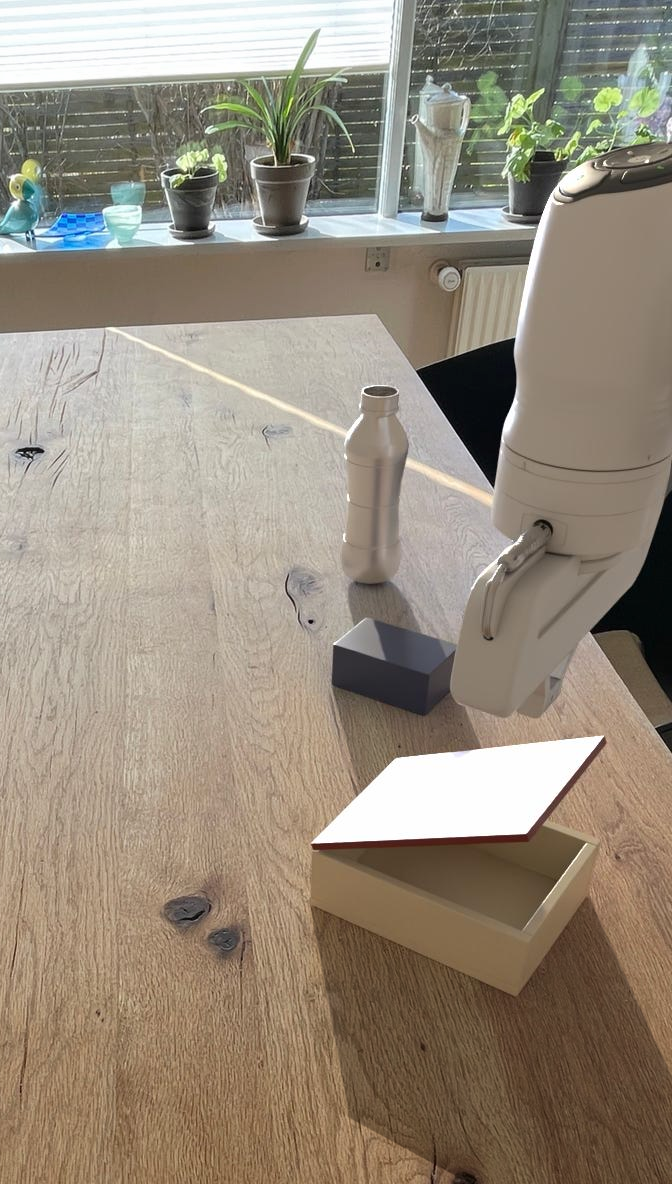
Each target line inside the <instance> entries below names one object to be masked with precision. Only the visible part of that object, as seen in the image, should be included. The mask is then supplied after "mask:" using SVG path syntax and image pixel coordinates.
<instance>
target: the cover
mask: <svg viewBox="0 0 672 1184" xmlns="http://www.w3.org/2000/svg"><path fill="white" fill-rule="evenodd" d="M607 744H608V742H607V738H606V736H605V735H600V736H591V737H580V738H572V739H571V738H570V739H562V740H561V739H560V740H553V741H543V742H533V743H525V744H516V745H505V746H497V747H488V748H479V749H470V750H462V751H461V750H459V751H452V752H442V753H432V754H423V755H422V754H421V755H414V756H405V757H396V758H394V759H393V761H391V763H390V764H389V765H388V766H387V767H385V769H384V770H382V771H381V773H379V775H377V776H376V778H375V779H374V780H372V782H370V784H369V785H368V786H366V788H365V789H364V790H363V791H362V792H361V793H360V794H359V795H358V796H356V797H355V798H354V800H353V801H352V802H350V803H349V805H348V806H347V807H345V809H344V810H343V811H341V813H340V814H339V815H337V816H336V818H335V819H333V821H332V822H331V823H330V824H329V825H327V826H326V828H325V829H324V830H322V831H321V833H319V835H317V837H316V838H314V839H313V841H312V842H311V843H310V846H311V849H312V851H313V850H336V849H361V848H387V847H412V846H438V845H463V844H489V843H514V842H530V840H531V839H532V838H533V836H534V835H535V834H536V833H537V831H538V830H539V829H540V828H541V826H542V825H543V824H544V822H545V821H546V820H548V819H549V818H550V816H551V815H552V814H553V812H554V811H555V810H556V808H557V807H559V805H560V803H561V802H562V801H563V800H564V799H565V797H566V796H567V794H569V792H570V791H571V789H572V788H573V787H574V786H575V785H576V783H577V782H578V781H579V779H580V778H581V777H582V776H583V774H584V773H585V772H586V771H587V769H588V768H589V767H590V765H591V764H592V763H593V762H594V760H595V759H596V758H597V756H599V754H600V753H601V752H602V750H603V749H604V748H605V747H606V745H607Z"/></svg>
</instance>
